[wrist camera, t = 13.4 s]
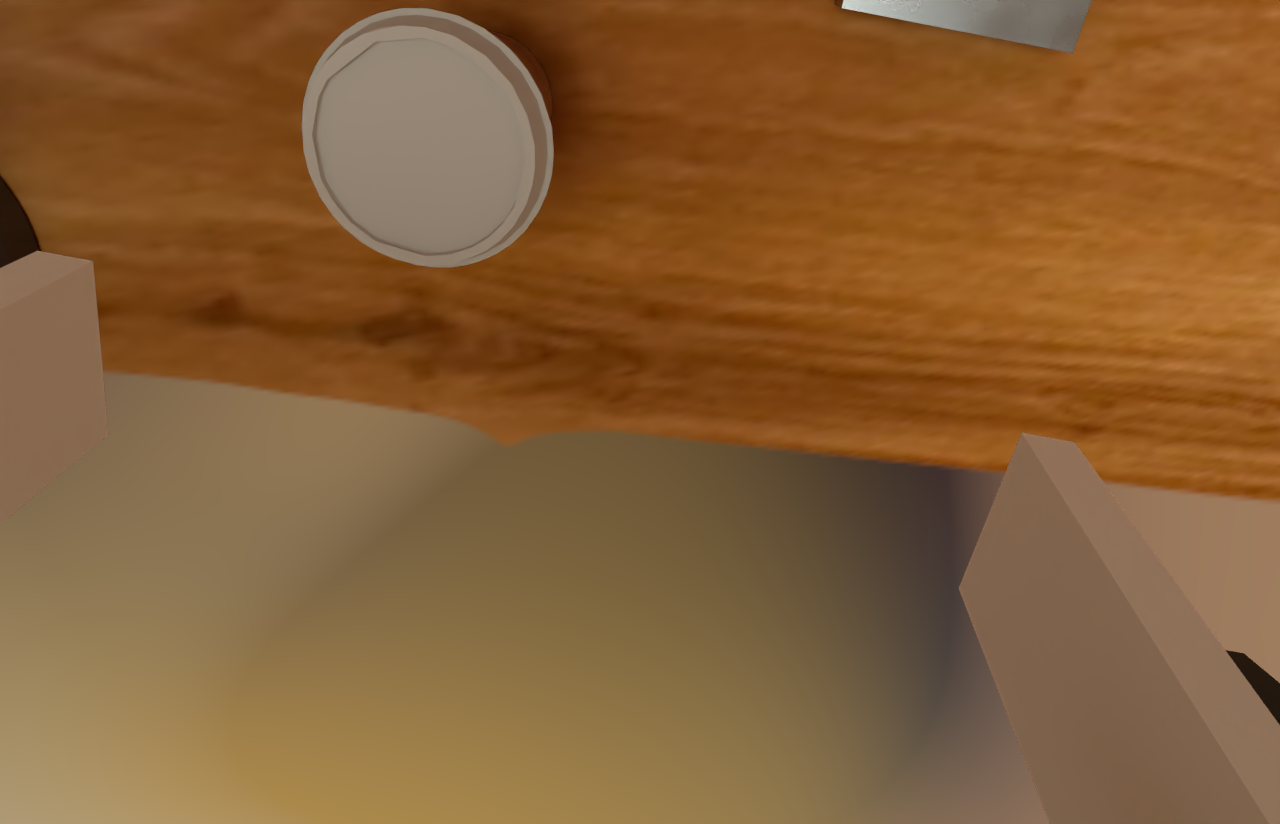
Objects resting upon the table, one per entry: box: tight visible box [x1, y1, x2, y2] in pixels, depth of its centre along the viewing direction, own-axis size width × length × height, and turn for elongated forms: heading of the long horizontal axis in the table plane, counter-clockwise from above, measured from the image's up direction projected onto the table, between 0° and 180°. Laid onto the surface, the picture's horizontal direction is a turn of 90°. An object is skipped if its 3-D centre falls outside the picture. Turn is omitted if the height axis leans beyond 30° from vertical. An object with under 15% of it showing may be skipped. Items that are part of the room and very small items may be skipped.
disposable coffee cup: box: [302, 8, 554, 267], centre depth 40 cm, size 10×10×12 cm
